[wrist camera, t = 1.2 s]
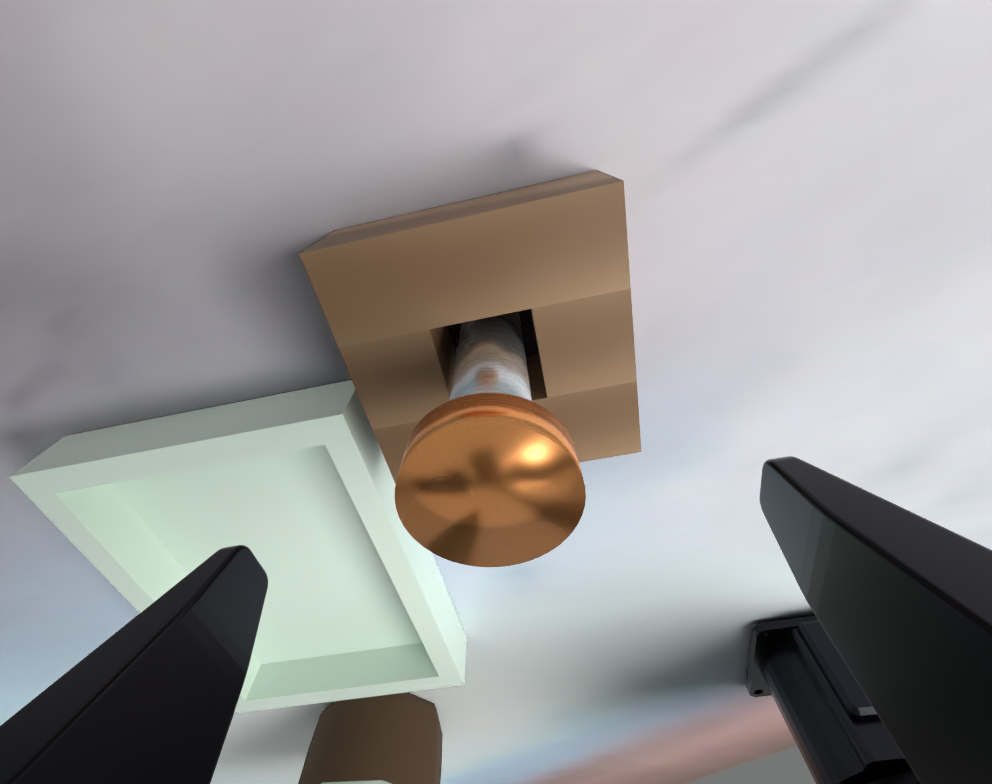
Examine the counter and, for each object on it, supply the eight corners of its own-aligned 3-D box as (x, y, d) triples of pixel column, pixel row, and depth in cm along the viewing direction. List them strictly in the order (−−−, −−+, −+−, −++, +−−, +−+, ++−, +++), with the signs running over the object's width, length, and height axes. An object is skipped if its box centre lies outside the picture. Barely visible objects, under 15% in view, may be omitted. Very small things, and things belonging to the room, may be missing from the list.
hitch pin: (548, 359, 16) (594, 552, 9) (454, 377, 17) (425, 578, 9) (531, 265, 15) (573, 407, 7) (428, 287, 15) (366, 444, 8)
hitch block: (618, 402, 17) (641, 451, 15) (412, 439, 18) (399, 492, 15) (597, 170, 13) (623, 180, 11) (334, 230, 14) (299, 253, 11)
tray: (466, 637, 24) (464, 685, 22) (257, 665, 26) (236, 713, 23) (360, 377, 17) (342, 413, 14) (65, 435, 18) (8, 476, 16)
